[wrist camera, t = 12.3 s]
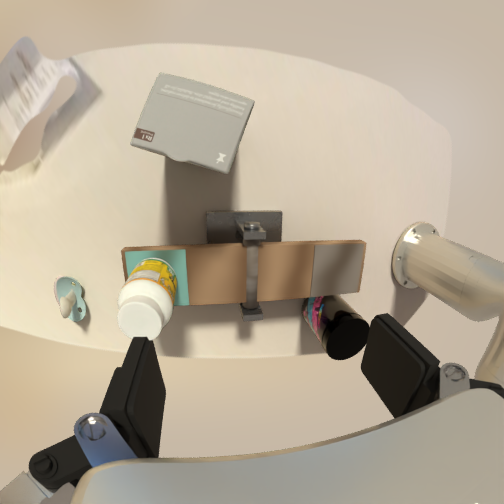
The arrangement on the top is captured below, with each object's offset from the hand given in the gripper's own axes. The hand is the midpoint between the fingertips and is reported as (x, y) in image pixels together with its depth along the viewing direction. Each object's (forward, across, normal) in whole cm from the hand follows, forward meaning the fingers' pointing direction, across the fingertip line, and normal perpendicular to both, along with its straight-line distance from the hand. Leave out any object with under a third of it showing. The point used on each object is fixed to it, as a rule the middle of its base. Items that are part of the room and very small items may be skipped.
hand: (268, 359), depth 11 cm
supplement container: (+28, -14, +14) cm, 35 cm away
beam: (+23, -2, +5) cm, 23 cm away
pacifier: (+27, +25, +9) cm, 38 cm away
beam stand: (+28, -2, +5) cm, 28 cm away
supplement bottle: (+20, +9, +4) cm, 23 cm away
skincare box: (+28, +4, -12) cm, 30 cm away
